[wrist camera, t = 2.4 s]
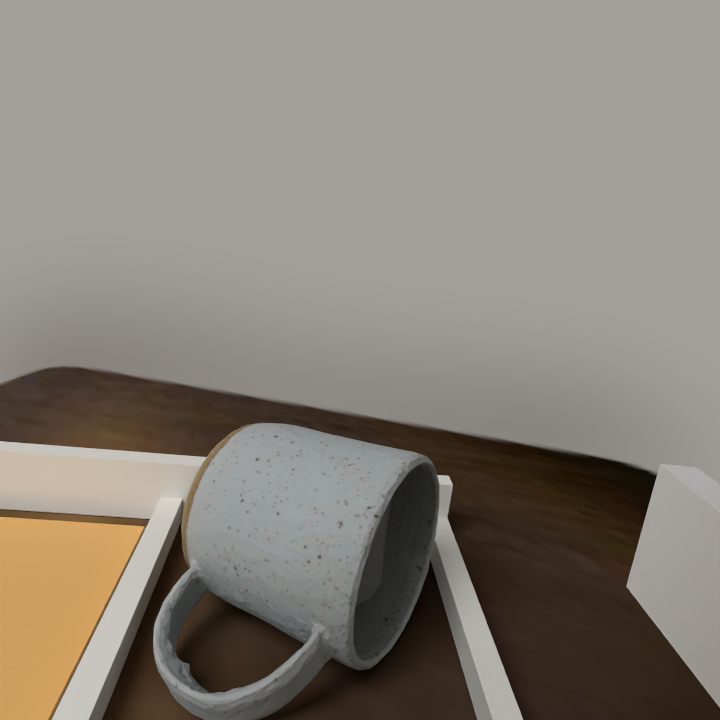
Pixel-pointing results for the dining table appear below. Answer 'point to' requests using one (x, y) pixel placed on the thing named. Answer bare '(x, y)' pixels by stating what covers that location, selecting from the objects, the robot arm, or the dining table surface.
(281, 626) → the ceramic mug
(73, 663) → the bay rack
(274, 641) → the dining table surface
